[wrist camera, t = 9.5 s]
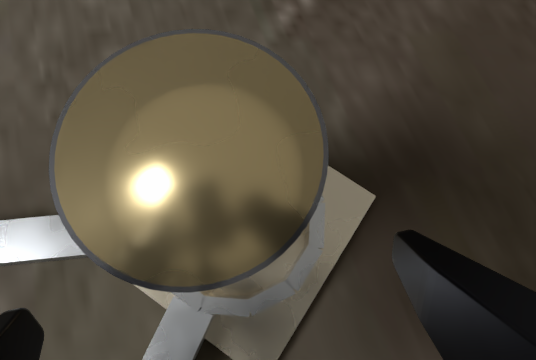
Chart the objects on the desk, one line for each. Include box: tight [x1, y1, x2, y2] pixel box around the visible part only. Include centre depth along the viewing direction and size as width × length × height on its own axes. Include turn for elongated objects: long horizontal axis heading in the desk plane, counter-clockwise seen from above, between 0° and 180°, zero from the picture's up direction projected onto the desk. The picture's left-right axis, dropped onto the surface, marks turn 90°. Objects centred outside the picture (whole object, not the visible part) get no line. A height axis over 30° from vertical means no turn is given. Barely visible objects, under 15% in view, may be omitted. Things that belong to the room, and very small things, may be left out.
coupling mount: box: [0, 166, 376, 360], centre depth 18 cm, size 20×23×2 cm
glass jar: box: [49, 29, 329, 293], centre depth 13 cm, size 5×5×13 cm
